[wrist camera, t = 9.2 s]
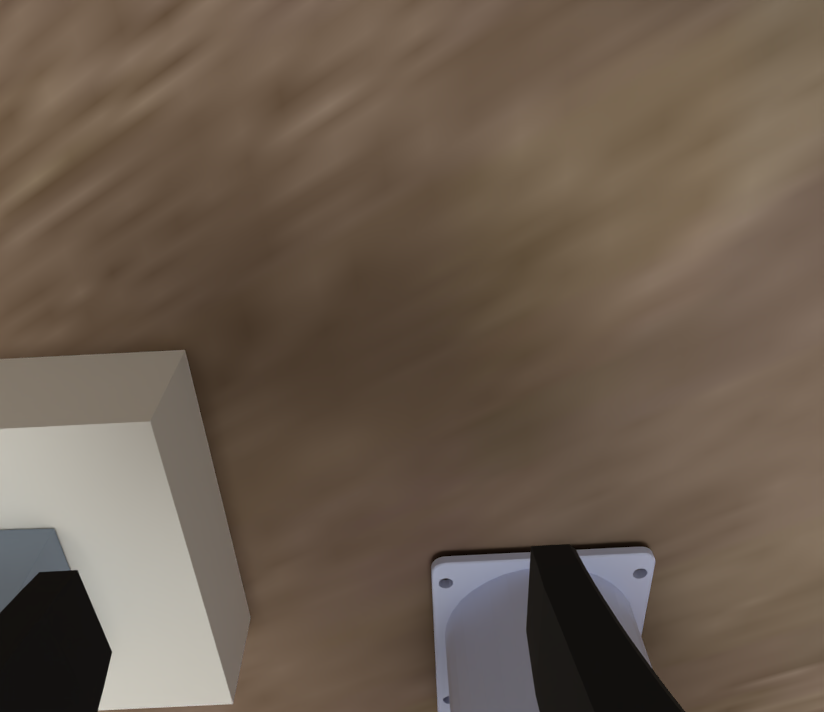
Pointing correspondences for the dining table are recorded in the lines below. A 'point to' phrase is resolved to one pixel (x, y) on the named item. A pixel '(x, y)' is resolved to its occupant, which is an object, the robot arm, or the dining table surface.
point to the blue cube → (27, 559)
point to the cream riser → (130, 516)
